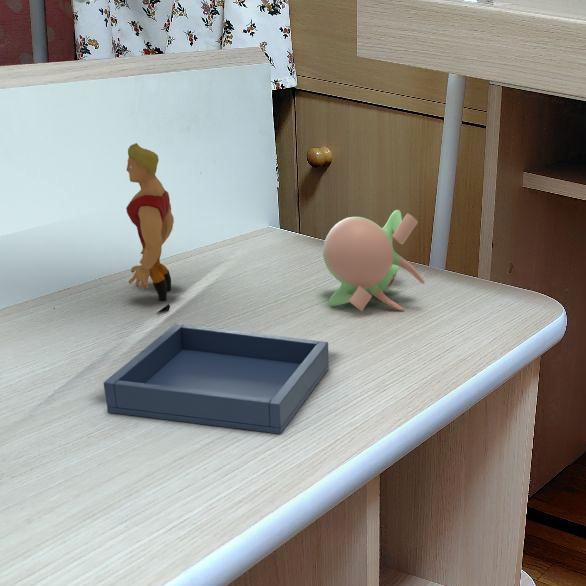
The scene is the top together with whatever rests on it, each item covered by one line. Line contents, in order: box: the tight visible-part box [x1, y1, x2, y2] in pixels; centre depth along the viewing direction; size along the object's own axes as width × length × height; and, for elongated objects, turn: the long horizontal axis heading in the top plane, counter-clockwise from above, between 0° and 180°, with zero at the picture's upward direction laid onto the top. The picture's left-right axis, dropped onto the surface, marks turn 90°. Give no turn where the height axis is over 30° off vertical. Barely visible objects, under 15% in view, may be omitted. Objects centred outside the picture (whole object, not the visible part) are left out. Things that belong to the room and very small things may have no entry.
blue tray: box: [103, 323, 330, 435], centre depth 81 cm, size 14×14×2 cm
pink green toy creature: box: [322, 209, 426, 312], centre depth 102 cm, size 12×10×9 cm
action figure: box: [125, 142, 175, 313], centre depth 93 cm, size 10×4×15 cm, turn 10°
